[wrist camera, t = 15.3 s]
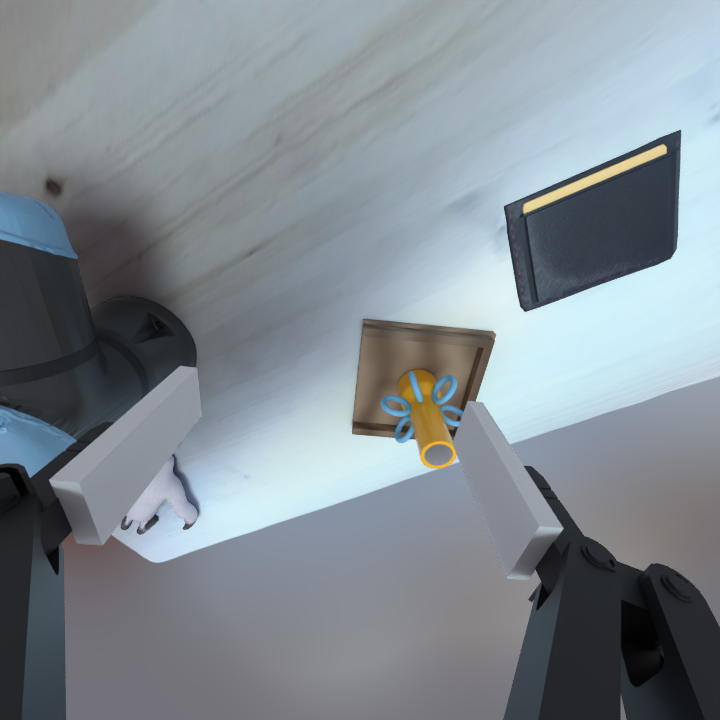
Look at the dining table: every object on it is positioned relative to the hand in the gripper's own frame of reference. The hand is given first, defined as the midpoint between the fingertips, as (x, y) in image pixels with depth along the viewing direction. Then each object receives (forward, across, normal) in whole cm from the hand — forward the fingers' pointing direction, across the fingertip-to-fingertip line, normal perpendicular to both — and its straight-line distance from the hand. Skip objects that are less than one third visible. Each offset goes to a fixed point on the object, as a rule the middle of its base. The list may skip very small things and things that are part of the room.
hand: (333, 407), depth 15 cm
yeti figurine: (+30, -32, -45) cm, 63 cm away
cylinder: (+28, +12, -14) cm, 34 cm away
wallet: (+30, +30, +11) cm, 43 cm away
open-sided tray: (+29, +13, -14) cm, 35 cm away
